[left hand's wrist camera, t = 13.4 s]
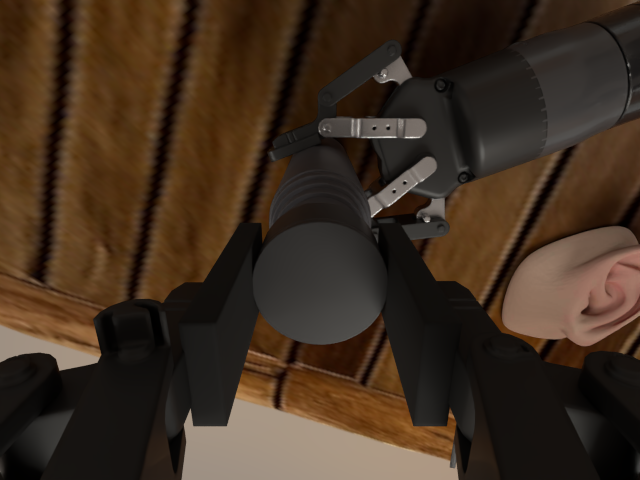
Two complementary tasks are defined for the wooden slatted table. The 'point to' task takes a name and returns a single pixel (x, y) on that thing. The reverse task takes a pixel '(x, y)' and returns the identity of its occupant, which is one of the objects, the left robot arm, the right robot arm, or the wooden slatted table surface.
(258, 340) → the wooden slatted table surface
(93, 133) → the wooden slatted table surface
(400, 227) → the left robot arm
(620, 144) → the wooden slatted table surface
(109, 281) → the wooden slatted table surface
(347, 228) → the cap
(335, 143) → the bottle
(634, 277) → the anatomical model
